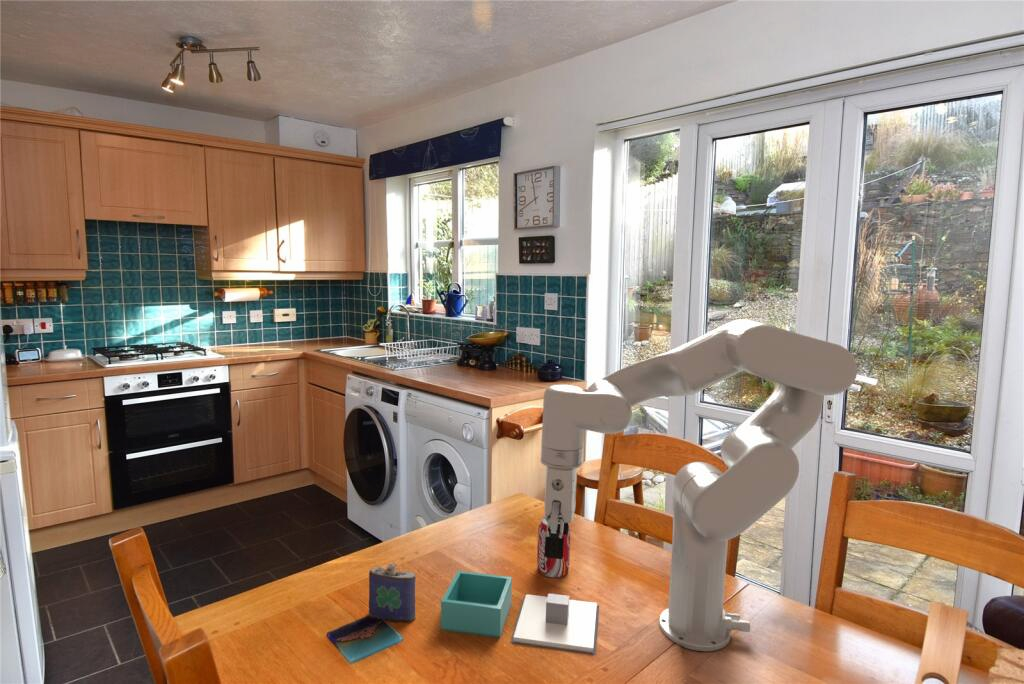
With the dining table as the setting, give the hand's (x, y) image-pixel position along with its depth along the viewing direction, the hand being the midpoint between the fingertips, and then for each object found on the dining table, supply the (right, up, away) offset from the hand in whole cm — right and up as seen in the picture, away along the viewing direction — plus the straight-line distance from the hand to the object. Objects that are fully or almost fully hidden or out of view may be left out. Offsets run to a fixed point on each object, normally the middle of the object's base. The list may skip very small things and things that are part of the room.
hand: (556, 544), depth 107 cm
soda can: (+1, -14, +21) cm, 25 cm away
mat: (0, -16, +2) cm, 16 cm away
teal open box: (-15, -15, +4) cm, 21 cm away
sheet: (0, -15, +2) cm, 15 cm away
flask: (-31, -15, +4) cm, 35 cm away
